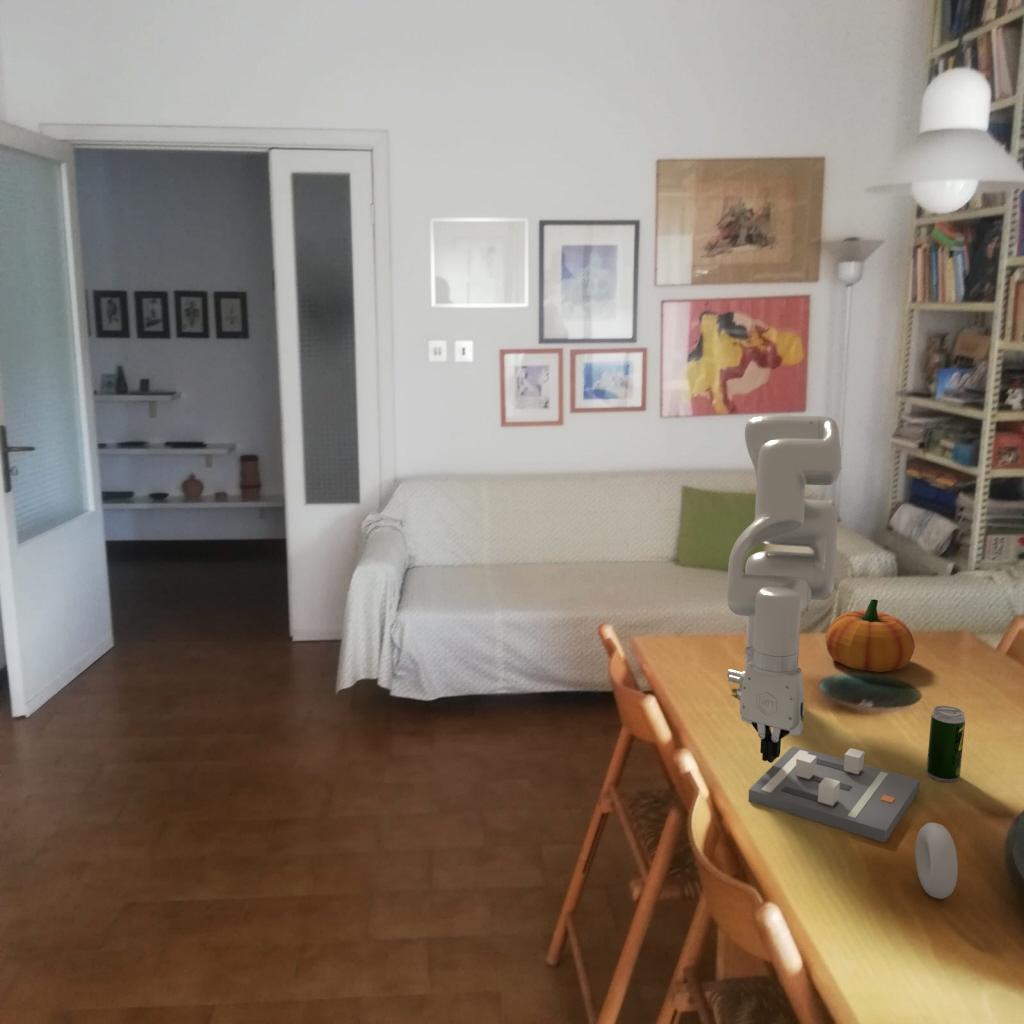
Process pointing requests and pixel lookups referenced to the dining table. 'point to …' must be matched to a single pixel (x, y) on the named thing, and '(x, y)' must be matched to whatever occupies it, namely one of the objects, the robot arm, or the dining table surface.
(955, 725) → the beer can
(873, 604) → the pumpkin
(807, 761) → the handle
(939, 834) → the donut
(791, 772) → the panel
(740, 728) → the dining table surface
